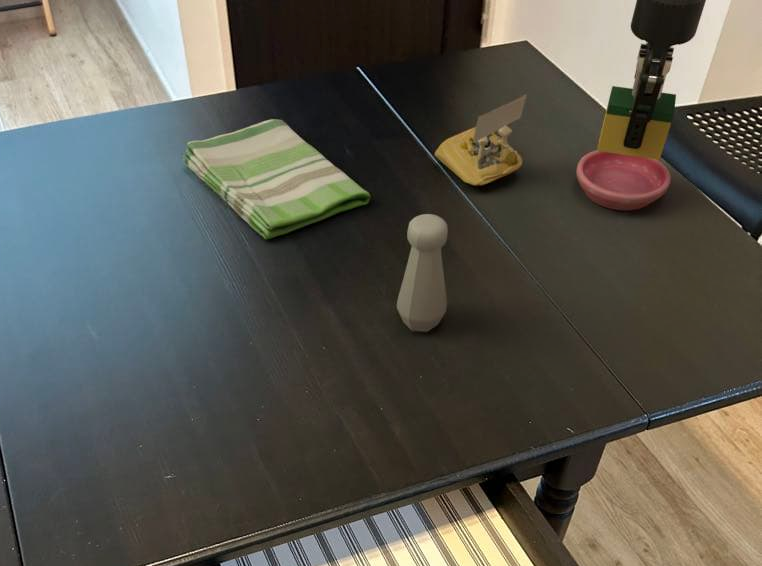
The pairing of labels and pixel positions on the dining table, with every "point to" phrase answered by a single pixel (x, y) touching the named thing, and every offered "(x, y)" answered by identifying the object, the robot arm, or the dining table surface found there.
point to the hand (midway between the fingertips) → (633, 135)
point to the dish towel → (273, 178)
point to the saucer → (622, 179)
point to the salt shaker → (424, 274)
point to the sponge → (619, 121)
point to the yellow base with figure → (484, 147)
